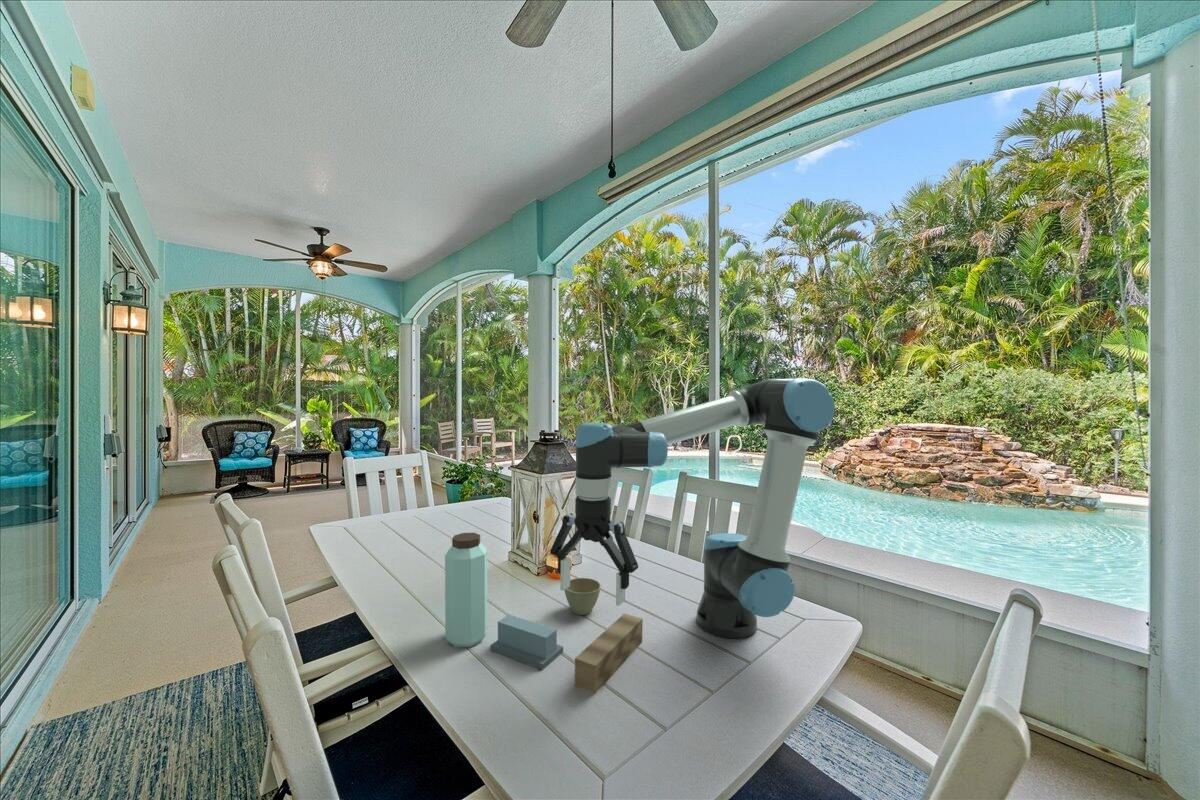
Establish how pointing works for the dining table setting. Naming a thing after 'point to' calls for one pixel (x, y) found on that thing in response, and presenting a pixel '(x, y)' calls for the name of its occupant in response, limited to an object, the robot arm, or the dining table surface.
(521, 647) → the ridge
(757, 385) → the robot arm
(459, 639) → the water bottle
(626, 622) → the walnut bar
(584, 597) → the flower pot
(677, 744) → the dining table surface
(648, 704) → the dining table surface
